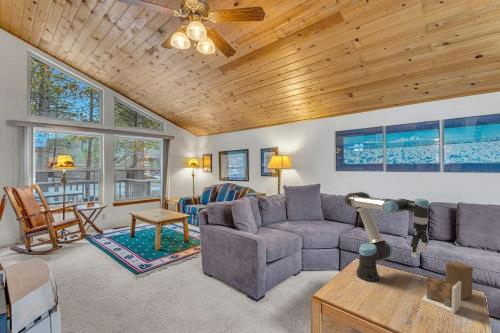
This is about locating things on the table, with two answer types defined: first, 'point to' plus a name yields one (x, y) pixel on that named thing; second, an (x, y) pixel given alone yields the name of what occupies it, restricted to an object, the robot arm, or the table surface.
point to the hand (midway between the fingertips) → (418, 254)
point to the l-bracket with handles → (446, 299)
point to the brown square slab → (439, 289)
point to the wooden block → (460, 277)
